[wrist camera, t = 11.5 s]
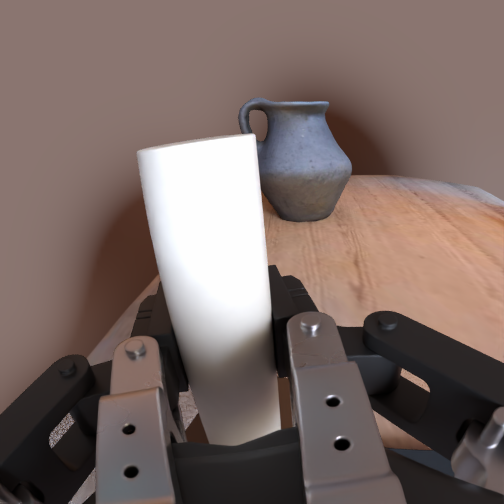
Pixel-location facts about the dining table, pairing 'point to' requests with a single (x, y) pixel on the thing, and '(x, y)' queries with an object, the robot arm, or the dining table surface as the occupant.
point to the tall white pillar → (217, 283)
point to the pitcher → (298, 159)
